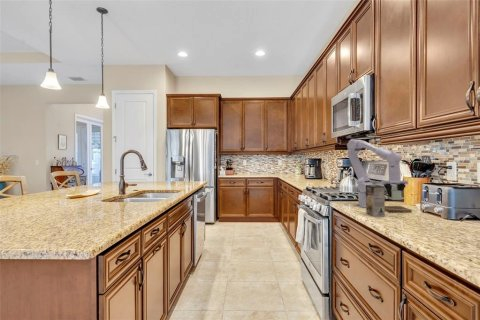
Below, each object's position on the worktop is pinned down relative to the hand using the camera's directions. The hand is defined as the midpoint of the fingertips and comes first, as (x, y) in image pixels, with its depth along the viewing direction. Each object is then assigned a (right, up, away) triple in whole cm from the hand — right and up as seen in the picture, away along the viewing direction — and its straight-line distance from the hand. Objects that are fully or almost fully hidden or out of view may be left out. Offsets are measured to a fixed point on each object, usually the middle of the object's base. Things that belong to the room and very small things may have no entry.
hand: (394, 196), depth 153 cm
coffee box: (-17, -9, -10) cm, 21 cm away
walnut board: (0, -8, 0) cm, 8 cm away
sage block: (0, -1, 0) cm, 1 cm away
